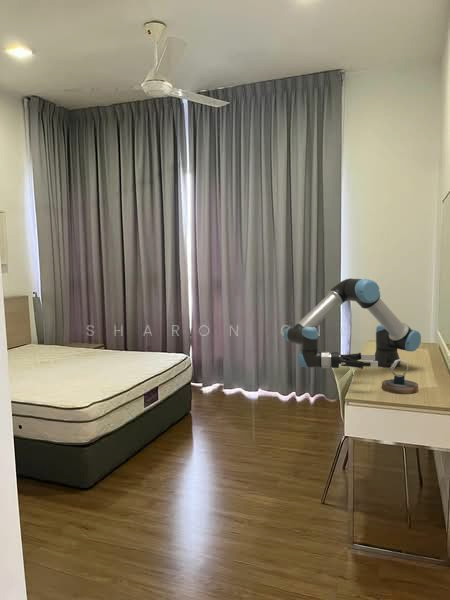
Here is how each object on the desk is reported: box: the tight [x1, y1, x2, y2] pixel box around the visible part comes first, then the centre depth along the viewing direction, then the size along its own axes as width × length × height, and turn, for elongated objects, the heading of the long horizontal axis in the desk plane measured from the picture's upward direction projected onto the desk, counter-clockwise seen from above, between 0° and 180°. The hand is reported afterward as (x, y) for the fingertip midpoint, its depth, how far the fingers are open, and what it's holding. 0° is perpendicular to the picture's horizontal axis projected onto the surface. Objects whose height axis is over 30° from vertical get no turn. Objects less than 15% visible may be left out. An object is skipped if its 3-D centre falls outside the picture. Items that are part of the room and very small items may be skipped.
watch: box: [389, 358, 409, 385], centre depth 224 cm, size 6×8×11 cm
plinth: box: [381, 378, 419, 395], centre depth 224 cm, size 16×16×3 cm
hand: (376, 360), depth 226 cm, fingers open, 13 cm apart
